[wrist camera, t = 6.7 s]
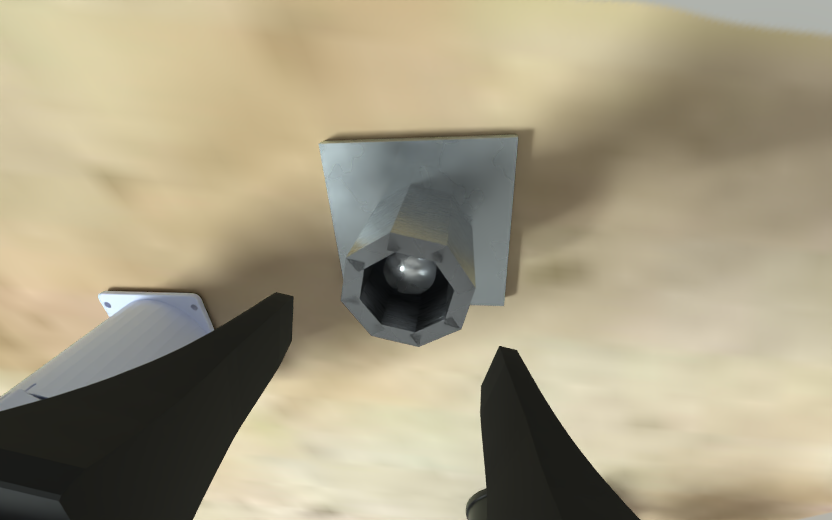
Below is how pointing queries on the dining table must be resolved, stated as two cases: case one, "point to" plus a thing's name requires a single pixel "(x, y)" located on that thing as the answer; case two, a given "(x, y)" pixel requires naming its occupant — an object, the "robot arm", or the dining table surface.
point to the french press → (477, 506)
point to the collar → (420, 237)
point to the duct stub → (434, 169)
